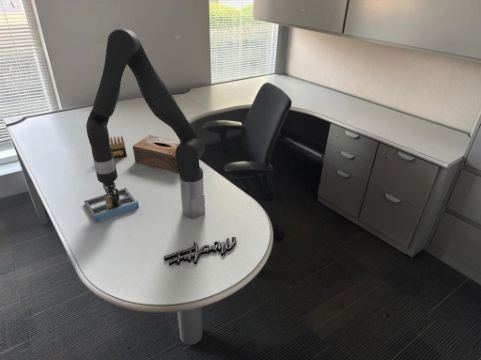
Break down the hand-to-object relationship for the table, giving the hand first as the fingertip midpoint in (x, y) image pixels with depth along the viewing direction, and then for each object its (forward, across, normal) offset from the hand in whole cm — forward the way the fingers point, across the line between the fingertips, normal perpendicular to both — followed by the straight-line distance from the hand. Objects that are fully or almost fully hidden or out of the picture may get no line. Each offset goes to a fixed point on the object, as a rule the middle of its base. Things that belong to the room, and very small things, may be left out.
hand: (113, 203), depth 140 cm
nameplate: (+4, -42, -18) cm, 46 cm away
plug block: (+4, 0, 0) cm, 4 cm away
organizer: (+4, +4, 0) cm, 5 cm away
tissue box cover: (+4, +26, -35) cm, 44 cm away
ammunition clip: (+4, +44, -16) cm, 47 cm away
